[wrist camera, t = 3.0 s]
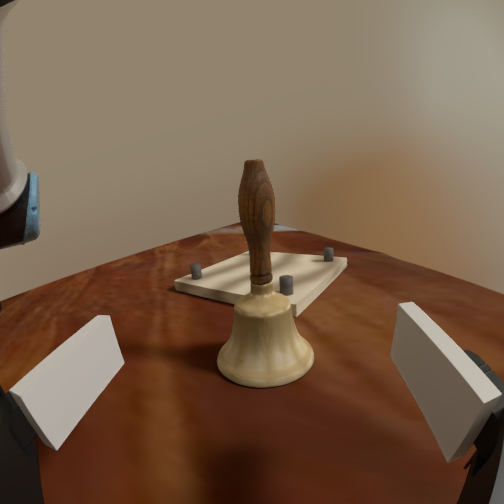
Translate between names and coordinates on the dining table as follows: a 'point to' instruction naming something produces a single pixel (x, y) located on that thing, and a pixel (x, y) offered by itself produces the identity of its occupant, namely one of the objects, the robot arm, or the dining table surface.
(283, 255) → the board
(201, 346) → the dining table surface
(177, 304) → the dining table surface
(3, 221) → the robot arm
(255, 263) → the hand bell
